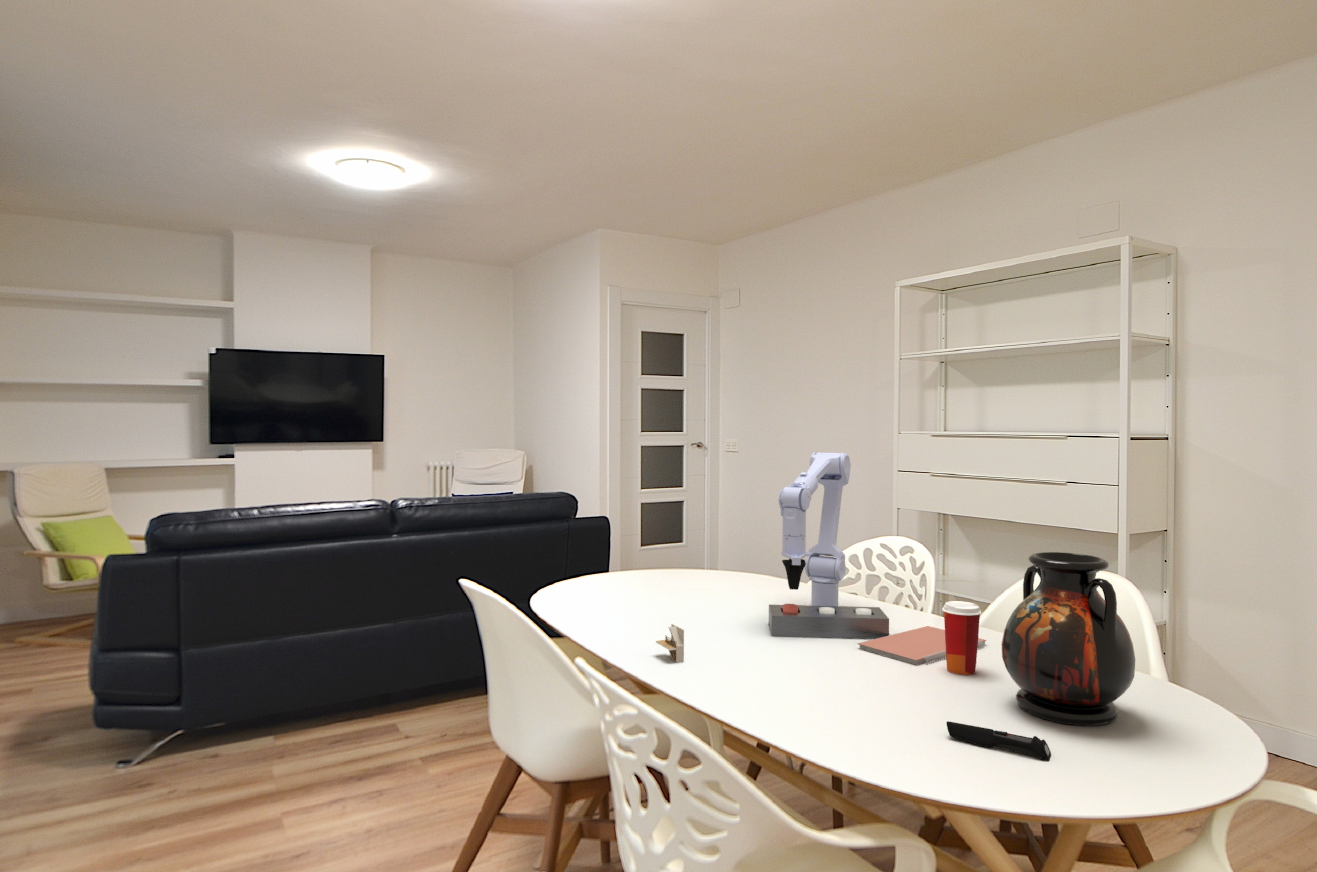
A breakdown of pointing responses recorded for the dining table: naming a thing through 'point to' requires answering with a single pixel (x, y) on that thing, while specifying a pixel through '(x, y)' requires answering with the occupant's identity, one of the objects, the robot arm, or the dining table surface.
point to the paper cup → (961, 636)
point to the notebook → (912, 645)
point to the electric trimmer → (1000, 740)
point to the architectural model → (674, 643)
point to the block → (828, 623)
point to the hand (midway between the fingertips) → (793, 588)
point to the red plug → (790, 608)
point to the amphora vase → (1068, 642)
